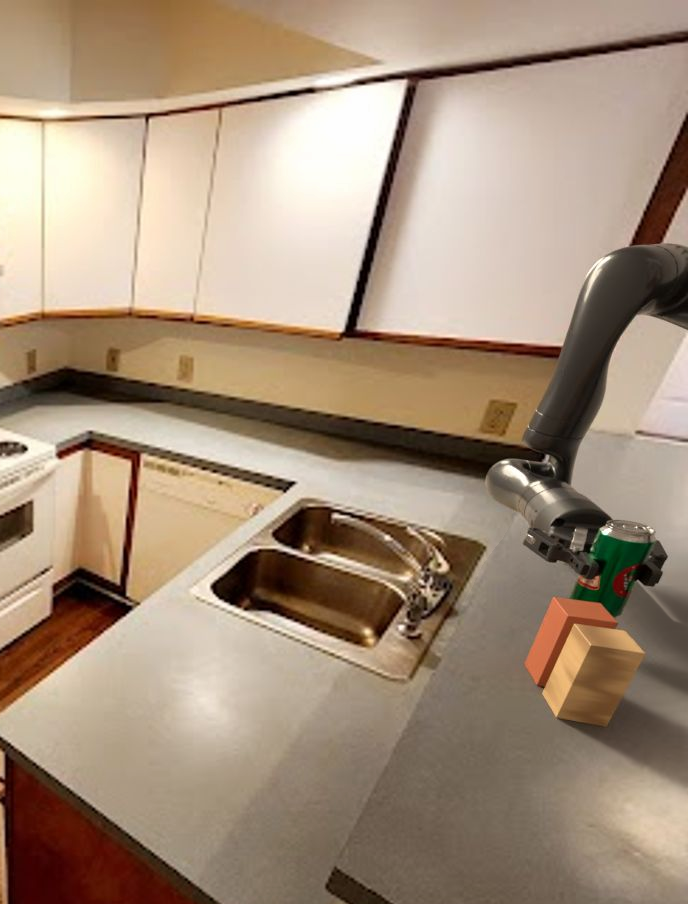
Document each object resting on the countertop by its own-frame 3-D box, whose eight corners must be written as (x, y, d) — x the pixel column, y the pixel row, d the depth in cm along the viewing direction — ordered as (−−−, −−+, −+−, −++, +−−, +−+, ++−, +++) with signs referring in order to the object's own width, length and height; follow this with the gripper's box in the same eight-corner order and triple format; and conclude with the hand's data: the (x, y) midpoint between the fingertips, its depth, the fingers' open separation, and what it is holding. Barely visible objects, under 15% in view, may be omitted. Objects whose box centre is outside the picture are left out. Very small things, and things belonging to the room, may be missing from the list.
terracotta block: (568, 671, 77) (600, 602, 72) (583, 693, 73) (618, 622, 69) (524, 664, 78) (553, 596, 74) (536, 685, 75) (568, 615, 70)
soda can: (561, 597, 84) (595, 516, 78) (610, 604, 81) (649, 521, 76) (573, 616, 80) (611, 532, 74) (626, 624, 77) (668, 538, 72)
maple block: (589, 702, 72) (625, 630, 68) (606, 727, 68) (646, 653, 64) (541, 693, 74) (573, 623, 69) (556, 717, 70) (591, 645, 66)
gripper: (513, 492, 90) (559, 541, 77) (643, 502, 85) (718, 557, 71) (497, 538, 94) (538, 593, 80) (621, 551, 88) (688, 612, 74)
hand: (622, 576), depth 76 cm, fingers closed on soda can, 5 cm apart
